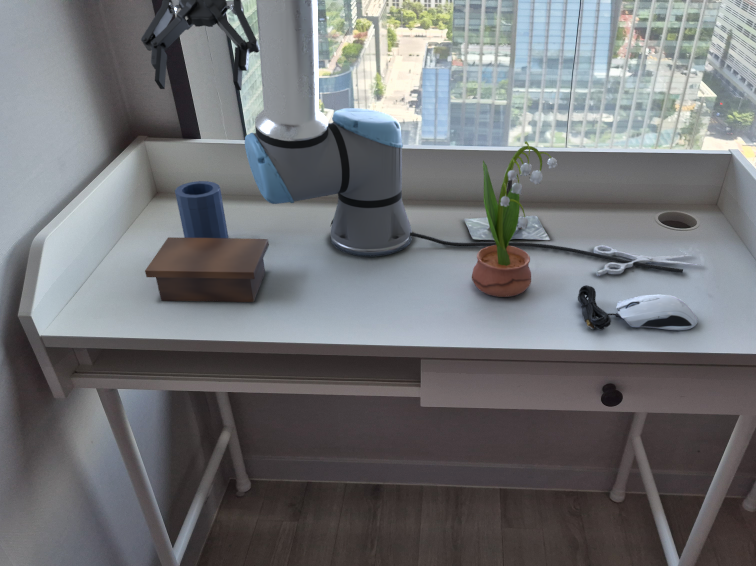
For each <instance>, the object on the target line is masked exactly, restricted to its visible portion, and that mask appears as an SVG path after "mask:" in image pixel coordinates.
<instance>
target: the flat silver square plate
mask: <svg viewBox="0 0 756 566" xmlns="http://www.w3.org/2000/svg"><path fill="white" fill-rule="evenodd" d="M512 185H513V180H512V179H511V180H508V184H507V188H506V191H507V195H508V193H509V191H510V190H511V188H512ZM520 217H524V215H521V216H520V215H519V217H518V220H519V218H520ZM525 217H526V218H527V219H528V224H527V226H528V227H525V229H523V228H522V227H521V228H519V227H518V225H517V228H516V231H515V233H514V234H513V236H512V238H511V239H510V241H511V240H540V241H551V238H550V236H549V235H548V234H547V232H546V230H545V228H544V226H543V225H542V223H541V221H540V219H539V217H538V216H537V215H525ZM463 219H464V223H465V225H466V227H467V229H468V231H469V234H470V236H471V238H472V240H479V241H480V240H483V241H495V240H494V238H493V235H492V232H491V229H490V226H489V223H488V219H487V216H485V217H475V218H474V217H472V218H470V217H469V218H463ZM517 224H518V223H517Z"/></svg>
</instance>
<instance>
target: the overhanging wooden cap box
mask: <svg viewBox="0 0 756 566" xmlns="http://www.w3.org/2000/svg"><path fill="white" fill-rule="evenodd" d="M269 245H270V243H269V239H268V238H237V237H235V238H233V237H231V238H229V237H228V238H184V237H170V236H169V237H166V239H165V241H164V243H162V245H161V246H160V248H159V250H158V251H157V252H156V254H155V255H154V257H153V258H152V260H151V261H150V263H149V264H148V265H147V267H146V269H145V270H144V273H145V277H146V278H155V280H156V285H157V288H158V292H159V297H160V301H162V302H214V303H215V302H218V303H221V302H223V303H254V302H255V300H256V297H257V294H258V292H259V289H260V287H261V284H262V283H263V280H264V277H265V276H266V275H265V274H266V268H265V260H264V257H265V255H266V253H267V250H268V249H269Z"/></svg>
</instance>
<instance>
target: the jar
mask: <svg viewBox="0 0 756 566" xmlns="http://www.w3.org/2000/svg"><path fill="white" fill-rule="evenodd" d="M174 193H175V199H176V204H177V209H178V213H179V218H180V222H181V228H182V232H183V238H229V233H228V227H227V226H228V225H227V221H226V215H225V208H224V203H223V195H222V191H221V187H220V185H219V184H218V183H216V182H213V181H209V180H198V181H189V182H187V183H182V184H181V185H179V186H177V187H176V188H175V190H174Z"/></svg>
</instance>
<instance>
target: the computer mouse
mask: <svg viewBox="0 0 756 566" xmlns="http://www.w3.org/2000/svg"><path fill="white" fill-rule="evenodd" d="M596 298H597V292H596V289H595V288H594V287H593V286H591V285H588V284H585V285H583V286H580V288H579V290H578V295H577V301H578V302H579V303H580V305H581V314H582V317H583V321H584V322H585V323H586V326H587V327H588V328H589V329H590V330H594V329H598V330H600V331H603V330H605V328H608V327H609V326H610V325H611V323H612V320H611V316H614V317H615V318H619V319H624V321H625V322H626V323H627V324H628V325H629V326H630V327H631V328H650V329H651V328H652V329H660V330H666V331H687V330H691V329H692V328H694V327H696V325H697V324H698V322H699V319H698V317H697V315H696V313H695V312H694V311H693V309H692V308H691V307H690V306H689V305H688V304H687V303H686V302H685V301H684V300H682V299H681V298H678V297H677V296H674V295H671V294H645V295H639V296H634V297H630V298H627V299H623V300H620V301H619V300H618V301H617V304H616V307H615V309H616V310H617V311H616V312H615V313H614V312H612V313H611V312H610V313H607V312H606V311H605V310H604V309H602V308H601V307H599V305H598V304H597V302H596V301H597V299H596Z"/></svg>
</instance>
